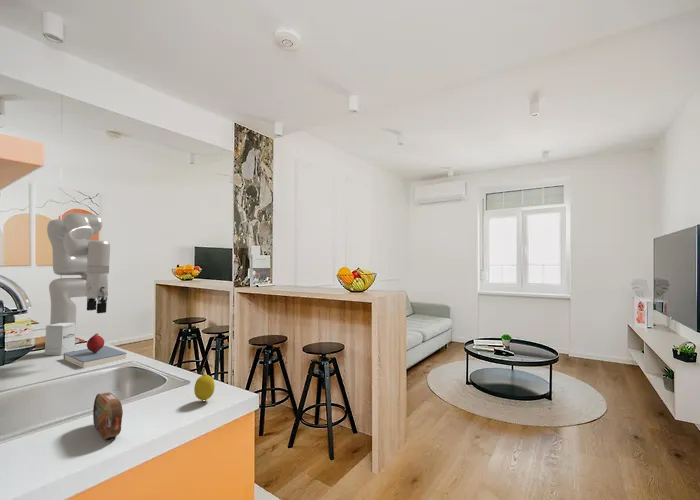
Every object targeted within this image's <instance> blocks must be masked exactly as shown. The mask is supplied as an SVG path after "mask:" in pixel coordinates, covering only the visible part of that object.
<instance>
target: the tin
mask: <svg viewBox="0 0 700 500" xmlns="http://www.w3.org/2000/svg"><path fill="white" fill-rule="evenodd" d="M93 401H94V403H93V411H92V412H93V413H92V416H93V418H92V419H93V421H92V422H93V426H94V429H95V430H96V431H97V432H98V433H99V435H100V436H101V437H102V439H104V440H107V439H110V438H114V437H117V436H119V435H120V433H121V431H122V422H123V421H122V420H123V415H124V414H123V405H122V402H121V401H120V400H119V398H117V397H116V396H115V395H114V394H113V393H112V392H102V393H97V394H96V396H95V399H94V400H93Z"/></svg>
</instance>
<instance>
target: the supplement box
mask: <svg viewBox="0 0 700 500" xmlns="http://www.w3.org/2000/svg"><path fill="white" fill-rule="evenodd" d="M76 323H77V322H76ZM76 323H57V324H52V325H50V324H48V325H46V326H45V337H46V338H45V340H44V341H45V344H44V355H45V356H61V355H64V353H67V352H73V351H75V346H76V345H75V344H76V343H75V338H76V330H75V324H76Z"/></svg>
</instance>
